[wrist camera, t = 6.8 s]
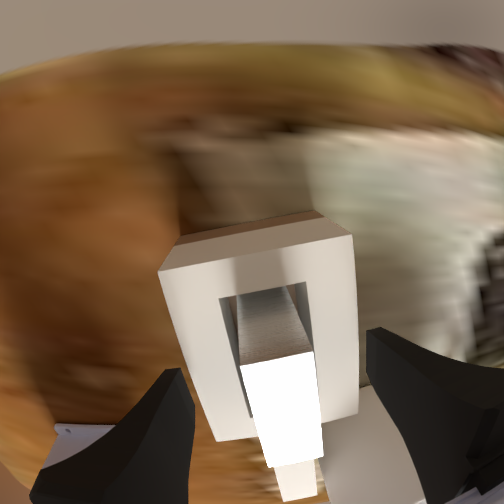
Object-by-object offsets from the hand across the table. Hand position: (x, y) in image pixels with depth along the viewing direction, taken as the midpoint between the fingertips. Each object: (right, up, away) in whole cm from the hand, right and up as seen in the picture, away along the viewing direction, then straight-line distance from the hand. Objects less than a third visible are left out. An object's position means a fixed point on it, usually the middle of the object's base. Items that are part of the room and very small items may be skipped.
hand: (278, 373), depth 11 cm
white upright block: (0, +1, +4) cm, 4 cm away
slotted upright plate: (0, -3, +8) cm, 8 cm away
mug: (+9, -8, +10) cm, 16 cm away
